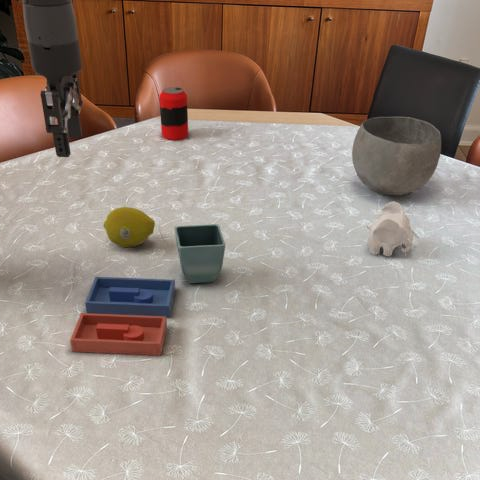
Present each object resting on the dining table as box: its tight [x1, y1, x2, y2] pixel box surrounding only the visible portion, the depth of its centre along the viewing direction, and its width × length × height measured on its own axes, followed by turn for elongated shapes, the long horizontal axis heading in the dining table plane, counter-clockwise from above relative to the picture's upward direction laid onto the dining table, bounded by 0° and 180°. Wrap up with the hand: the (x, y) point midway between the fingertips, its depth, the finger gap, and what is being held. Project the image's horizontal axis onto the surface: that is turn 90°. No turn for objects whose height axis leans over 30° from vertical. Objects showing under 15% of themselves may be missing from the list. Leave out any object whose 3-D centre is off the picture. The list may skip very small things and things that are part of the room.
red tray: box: [69, 312, 168, 356], centre depth 113 cm, size 15×8×2 cm, turn 88°
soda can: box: [158, 86, 189, 141], centre depth 181 cm, size 8×8×12 cm
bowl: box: [351, 116, 442, 196], centre depth 156 cm, size 20×20×15 cm
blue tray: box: [84, 276, 176, 318], centre depth 121 cm, size 15×9×2 cm, turn 88°
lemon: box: [103, 206, 156, 248], centre depth 136 cm, size 11×8×8 cm
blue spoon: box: [109, 287, 153, 304], centre depth 121 cm, size 8×4×2 cm, turn 88°
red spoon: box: [96, 323, 144, 341], centre depth 113 cm, size 8×4×2 cm, turn 87°
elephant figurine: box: [363, 201, 421, 257], centre depth 136 cm, size 10×12×9 cm
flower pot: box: [173, 223, 226, 284], centre depth 126 cm, size 9×9×9 cm
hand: (69, 146), depth 109 cm, fingers open, 8 cm apart
